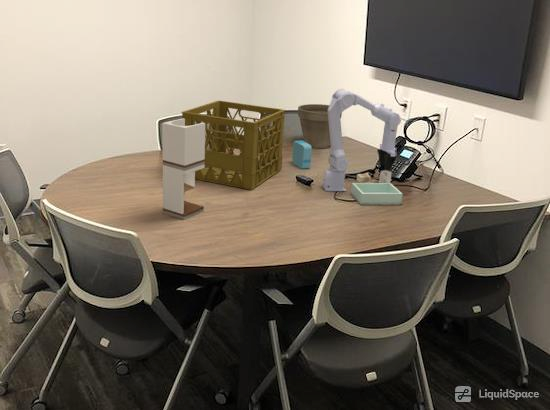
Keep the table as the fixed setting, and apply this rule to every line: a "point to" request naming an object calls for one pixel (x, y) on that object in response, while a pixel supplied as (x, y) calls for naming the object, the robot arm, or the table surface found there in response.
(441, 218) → the table surface
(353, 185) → the tote
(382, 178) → the metal cylinder
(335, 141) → the robot arm
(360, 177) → the maple block
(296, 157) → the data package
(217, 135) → the milk crate
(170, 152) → the notched white pedestal
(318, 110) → the plant pot
